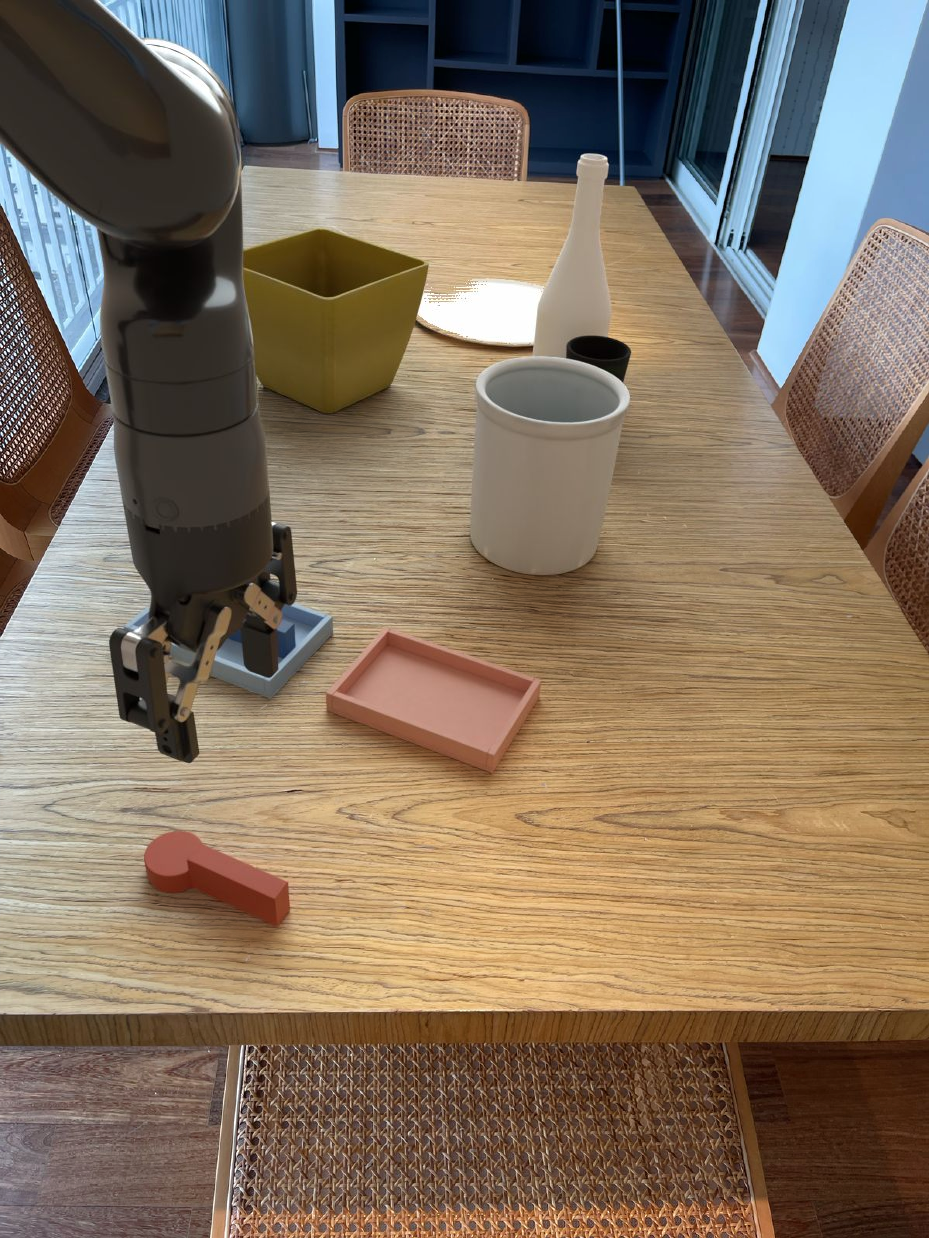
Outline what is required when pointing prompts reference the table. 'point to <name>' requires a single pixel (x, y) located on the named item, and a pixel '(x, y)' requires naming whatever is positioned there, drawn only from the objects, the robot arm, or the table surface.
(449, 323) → the plate
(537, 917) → the table surface
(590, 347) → the cup
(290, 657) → the tray blue
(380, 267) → the flower pot
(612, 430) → the utensil holder
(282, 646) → the spoon blue
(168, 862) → the spoon red
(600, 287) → the wine bottle
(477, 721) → the tray pink
